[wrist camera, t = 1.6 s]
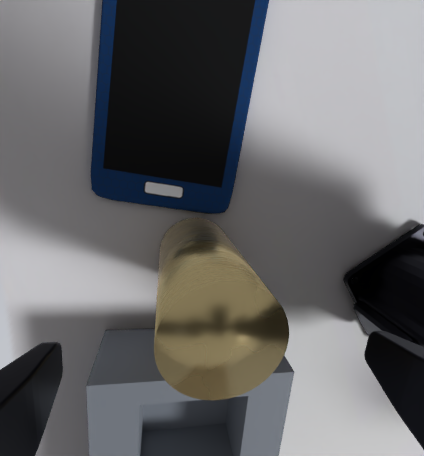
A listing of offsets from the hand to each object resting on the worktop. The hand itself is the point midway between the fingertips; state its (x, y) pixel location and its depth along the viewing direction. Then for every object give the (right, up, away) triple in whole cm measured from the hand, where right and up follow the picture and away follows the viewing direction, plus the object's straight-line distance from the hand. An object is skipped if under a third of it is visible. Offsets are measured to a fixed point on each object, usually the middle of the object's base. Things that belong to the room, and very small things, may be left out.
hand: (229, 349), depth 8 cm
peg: (-1, +2, +8) cm, 8 cm away
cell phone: (-2, +11, +6) cm, 13 cm away
